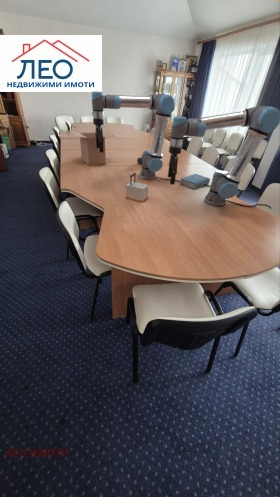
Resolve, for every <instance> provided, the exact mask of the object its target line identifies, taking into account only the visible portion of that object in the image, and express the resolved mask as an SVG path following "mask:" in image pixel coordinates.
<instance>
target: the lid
mask: <svg viewBox="0 0 280 497" xmlns="http://www.w3.org/2000/svg"><path fill="white" fill-rule="evenodd" d="M136 176H137V172H134V173H132V174H130V176H129V177H130V178H129V179H130V180H129V182H128V183H126V184H125V187H126V186H128V187H132V188H136V189H141V190H144V189H145V188H147V187H148V188H149V184H145V183H141V182H138V181H136Z"/></svg>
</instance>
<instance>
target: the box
mask: <svg viewBox="0 0 280 497" xmlns="http://www.w3.org/2000/svg"><path fill="white" fill-rule="evenodd" d="M95 132H96V131H95V130H92V129H91V130H77V132H76V131H70V133H71V134H72V135H74V136H75V137H77V138H79V144H80V153H81V160H83V162H85V163H86V165H87V166H95V165H97V166H98V165H106V163H107V162H106V158H107V157H106V138H113V137H114V136H113V135H111V134H109V133H108V132H105V131H103V140H104V143H103V152H101V153H100V148H96V137H95Z"/></svg>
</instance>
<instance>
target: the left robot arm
mask: <svg viewBox="0 0 280 497" xmlns="http://www.w3.org/2000/svg"><path fill="white" fill-rule="evenodd" d="M91 105H92V106H91V107H92V112H91V114H92V123H93V125H94V126H95V131H94V132H95V137H96V148H100V153H101V152H103V143H104V140H103V132H104V131H103V127H102V126H104V125H105V119H104V118H105V114H104V112H105V111H104V109H105V110H107V109H110V110H120V109H121V108H129V109H148V110H150V111H155V115H154V116H156V121H155V126H154V132H153V137H152V143H151V148H150V150H143V152H142V155H143V159H142V164H141V169H140V172H139V178H140V179H142V180H146V181H154V180H156V179H160V180H165V181H171V178H163V177H159V176H157V174H156V173H157V172H159V171H160V170H161V169H162V168H163V165H164V164H163V156H164V155H163V153H162V150H163V147H164V141H165V136H166V131H167V126H168V121H169V120H170V119H171V118H172V113H173V112H174V111H175V109H176V100H175V98H174V97H173V96H172V95H171V94H167V93H157V94H149V95H124V94H123V95H122V94H106V95H104V93H103V92H102V91H98V90H97V91H96V90H95V91H91ZM175 182H180V183H181V180H179V179H175ZM203 186H204V187H209V188H210V187H211V185H209V184H206V185H203ZM239 191H241V192H249V193H251V190H249V189H238V192H239Z"/></svg>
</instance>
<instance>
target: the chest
mask: <svg viewBox="0 0 280 497" xmlns="http://www.w3.org/2000/svg"><path fill="white" fill-rule="evenodd" d="M148 196H149V186H148V187H147V188H145V189H144V190H141V189H136V188H132V187H128V186H126V185H125V198H126V199H129V200H133V201H137V202H141V203H144V202H145V200H147V199H148Z"/></svg>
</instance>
